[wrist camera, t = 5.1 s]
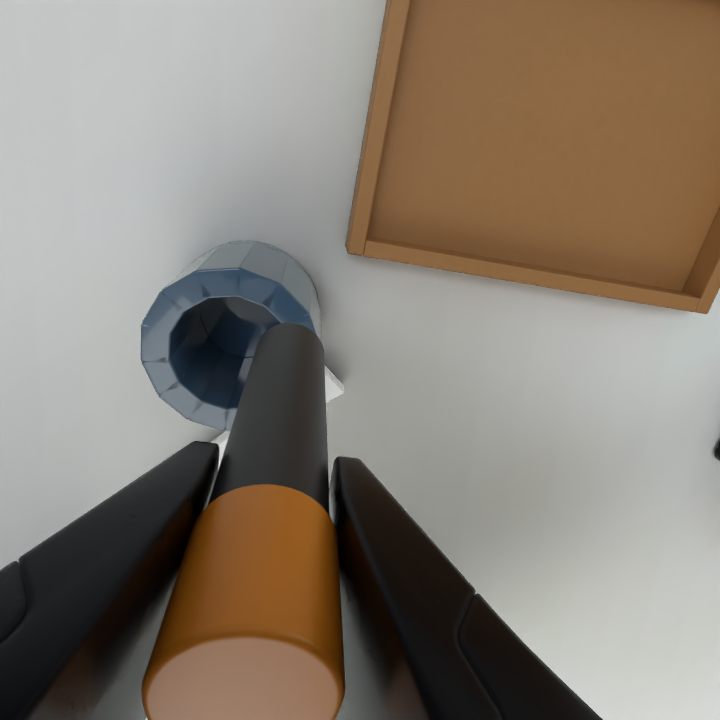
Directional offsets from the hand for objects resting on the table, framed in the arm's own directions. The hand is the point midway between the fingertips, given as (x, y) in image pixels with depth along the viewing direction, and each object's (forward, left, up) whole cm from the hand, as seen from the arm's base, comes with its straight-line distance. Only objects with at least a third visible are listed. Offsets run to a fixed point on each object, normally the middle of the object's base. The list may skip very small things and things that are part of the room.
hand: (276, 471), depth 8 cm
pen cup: (+2, +1, -13) cm, 13 cm away
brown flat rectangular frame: (-9, -7, -13) cm, 17 cm away
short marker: (0, 0, -5) cm, 5 cm away
